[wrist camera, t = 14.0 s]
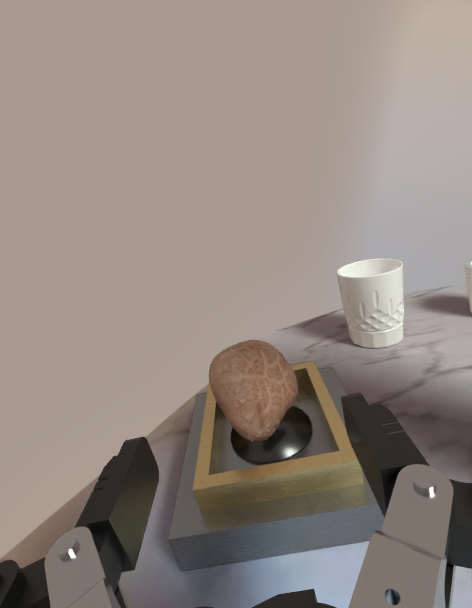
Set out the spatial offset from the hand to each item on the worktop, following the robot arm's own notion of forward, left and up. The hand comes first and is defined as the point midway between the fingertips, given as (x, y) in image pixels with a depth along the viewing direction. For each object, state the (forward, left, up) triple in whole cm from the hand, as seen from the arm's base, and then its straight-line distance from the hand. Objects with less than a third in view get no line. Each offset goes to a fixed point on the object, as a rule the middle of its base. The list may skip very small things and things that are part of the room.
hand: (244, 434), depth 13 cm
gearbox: (-1, -14, -13) cm, 19 cm away
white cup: (-16, -30, -14) cm, 37 cm away
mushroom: (0, -12, -10) cm, 16 cm away
